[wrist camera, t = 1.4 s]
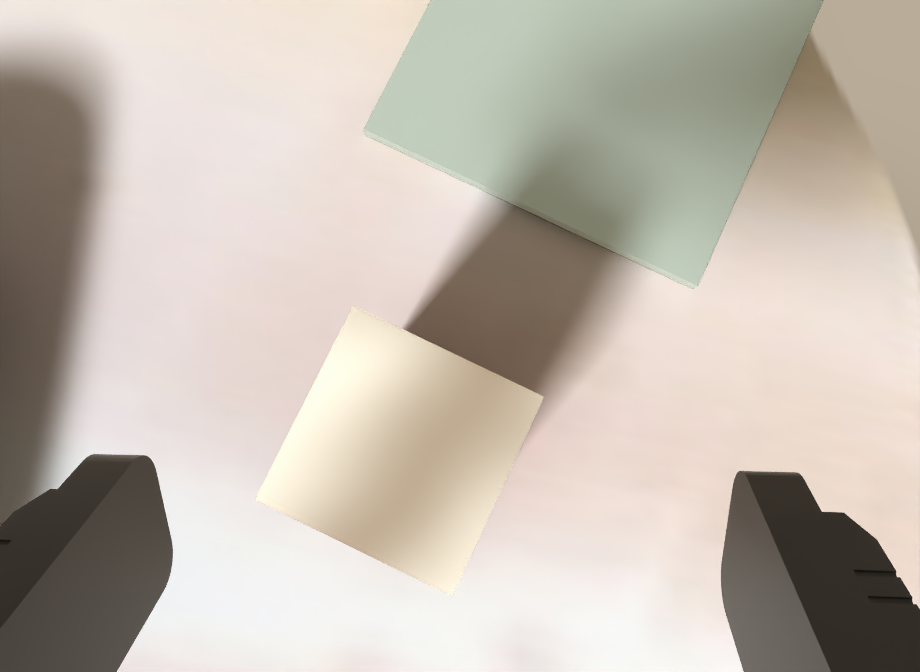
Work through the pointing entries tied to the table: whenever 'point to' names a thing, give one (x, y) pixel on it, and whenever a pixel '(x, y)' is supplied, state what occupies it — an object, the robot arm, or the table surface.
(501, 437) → the walnut block
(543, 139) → the rubber mat
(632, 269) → the table surface
